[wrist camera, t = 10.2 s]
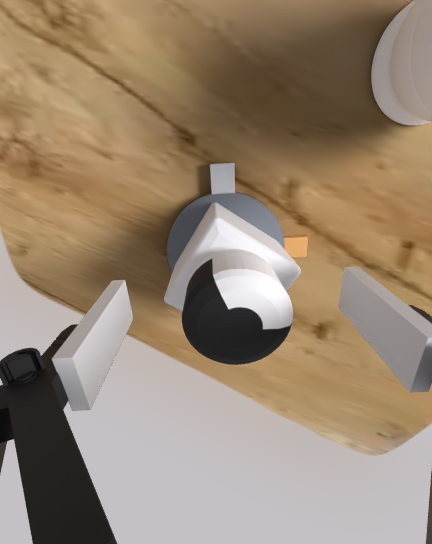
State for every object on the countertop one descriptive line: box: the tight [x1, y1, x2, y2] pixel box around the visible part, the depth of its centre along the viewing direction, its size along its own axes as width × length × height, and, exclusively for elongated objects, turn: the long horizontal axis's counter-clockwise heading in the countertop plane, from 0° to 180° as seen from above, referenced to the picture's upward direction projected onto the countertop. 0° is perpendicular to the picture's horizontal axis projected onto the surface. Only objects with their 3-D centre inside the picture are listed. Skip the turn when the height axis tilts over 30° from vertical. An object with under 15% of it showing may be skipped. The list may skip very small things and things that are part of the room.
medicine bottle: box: [164, 202, 301, 365], centre depth 19 cm, size 7×7×12 cm
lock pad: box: [167, 163, 308, 273], centre depth 25 cm, size 16×13×1 cm
